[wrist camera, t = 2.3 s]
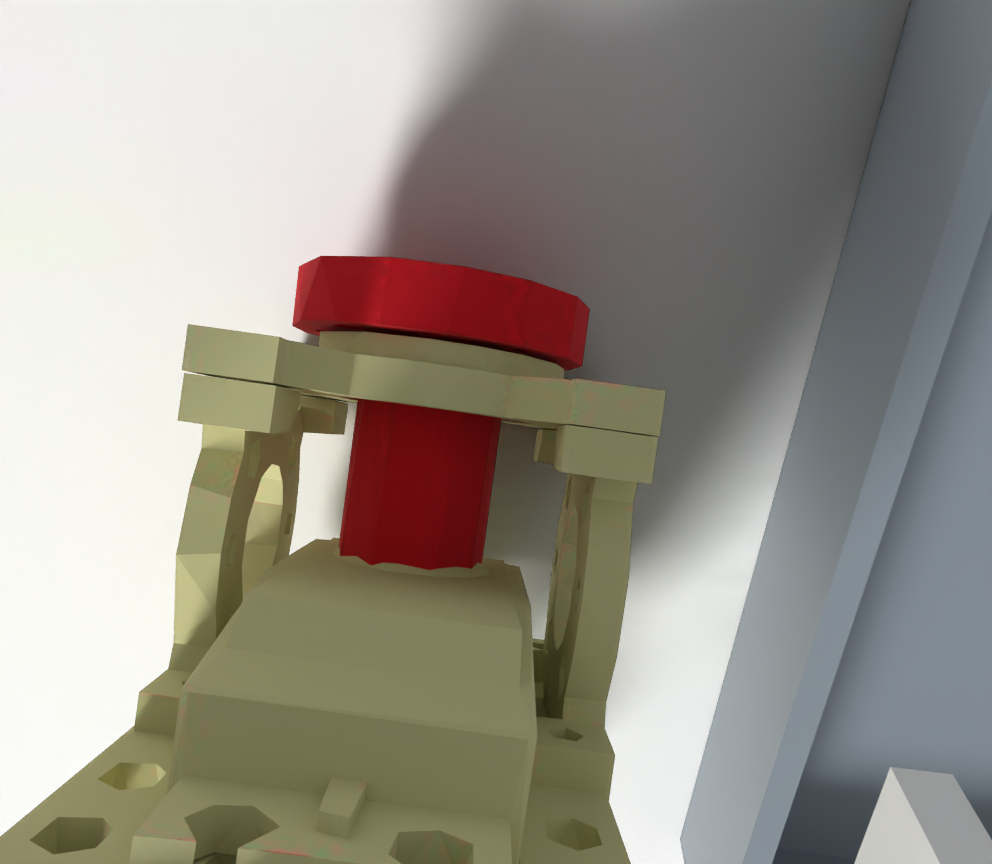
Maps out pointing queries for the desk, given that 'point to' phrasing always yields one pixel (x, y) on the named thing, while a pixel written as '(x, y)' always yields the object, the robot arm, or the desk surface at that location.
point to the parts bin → (877, 498)
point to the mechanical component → (379, 597)
